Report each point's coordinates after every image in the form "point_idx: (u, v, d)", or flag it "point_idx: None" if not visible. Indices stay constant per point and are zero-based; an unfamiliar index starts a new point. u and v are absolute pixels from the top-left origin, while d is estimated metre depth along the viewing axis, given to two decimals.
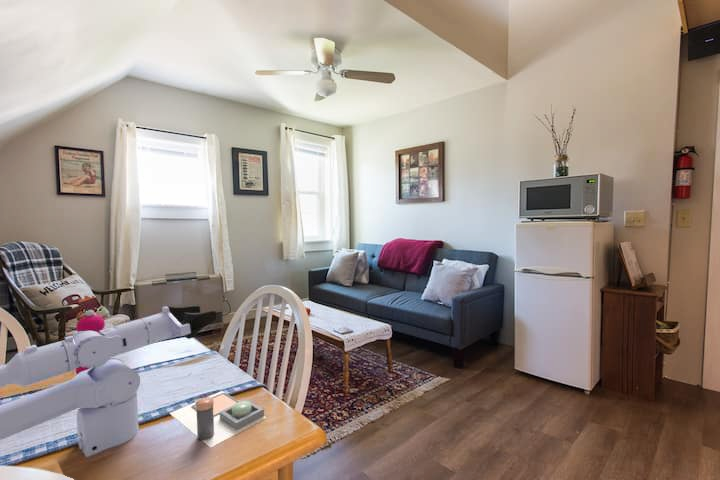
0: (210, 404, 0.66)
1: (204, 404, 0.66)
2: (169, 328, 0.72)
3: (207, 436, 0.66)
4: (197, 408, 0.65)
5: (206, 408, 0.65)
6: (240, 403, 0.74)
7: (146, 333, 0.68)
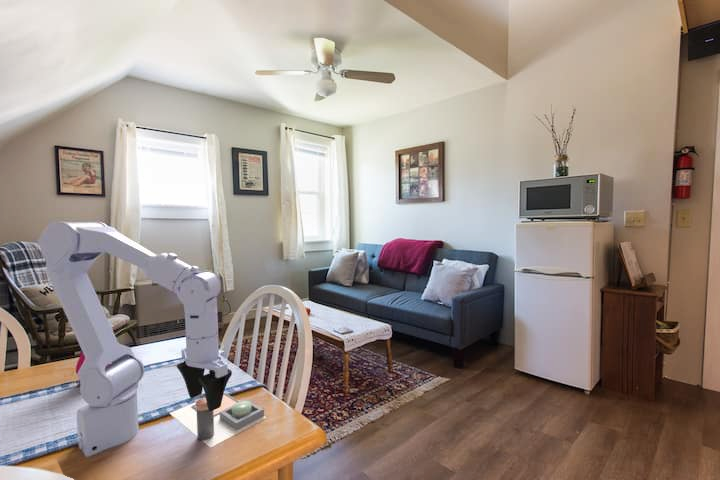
0: None
1: (204, 404, 0.66)
2: (210, 357, 0.64)
3: (207, 436, 0.66)
4: (197, 408, 0.65)
5: (206, 408, 0.65)
6: (240, 403, 0.74)
7: (197, 337, 0.63)
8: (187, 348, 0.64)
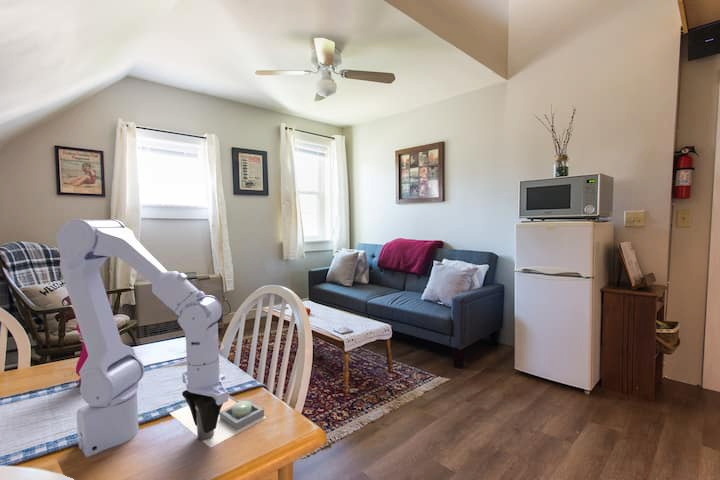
0: None
1: None
2: (210, 383, 0.65)
3: (207, 436, 0.66)
4: (197, 408, 0.65)
5: None
6: (240, 403, 0.74)
7: (198, 363, 0.63)
8: (188, 374, 0.64)
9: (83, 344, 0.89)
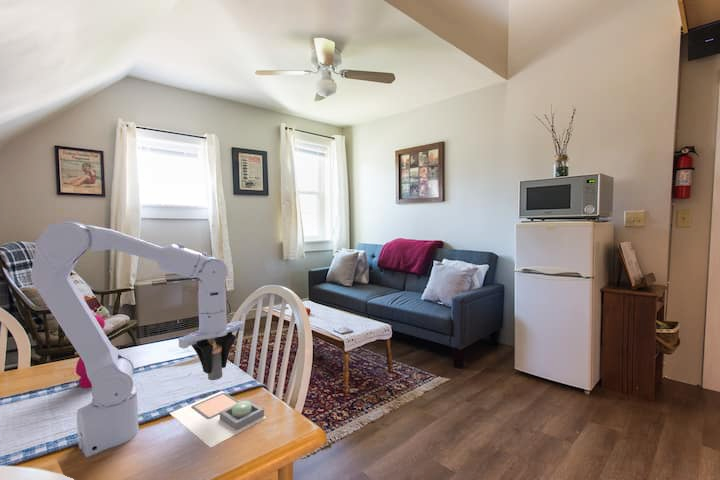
0: None
1: None
2: (201, 331, 0.74)
3: (208, 376, 0.76)
4: None
5: None
6: (240, 403, 0.74)
7: (217, 311, 0.74)
8: None
9: None
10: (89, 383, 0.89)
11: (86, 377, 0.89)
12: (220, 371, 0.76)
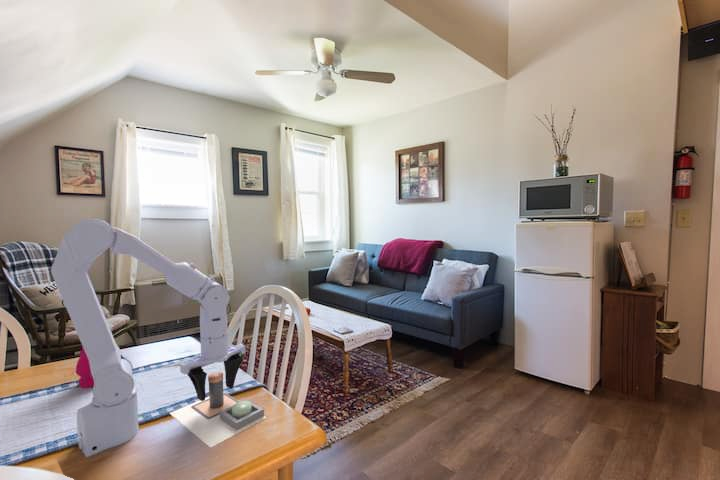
0: (209, 379, 0.76)
1: (209, 376, 0.77)
2: (202, 355, 0.75)
3: None
4: None
5: (208, 380, 0.77)
6: (240, 403, 0.74)
7: (219, 336, 0.75)
8: None
9: None
10: (89, 383, 0.89)
11: (86, 377, 0.89)
12: (221, 399, 0.78)
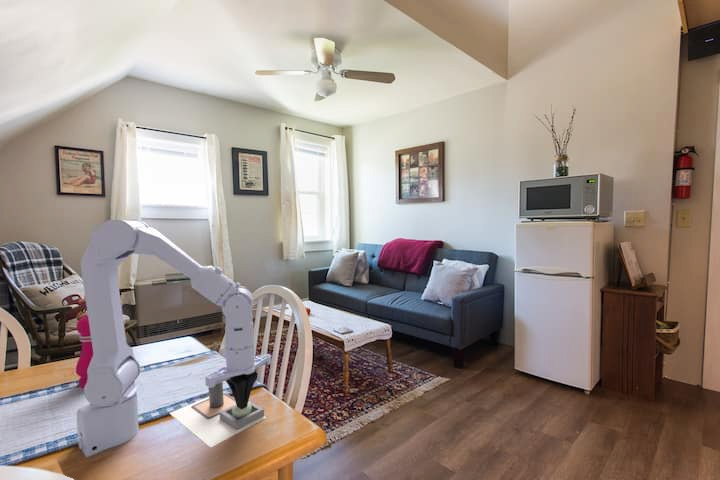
0: None
1: None
2: (228, 367, 0.70)
3: None
4: None
5: None
6: None
7: (240, 347, 0.70)
8: None
9: (83, 344, 0.89)
10: None
11: (86, 377, 0.89)
12: (221, 399, 0.78)
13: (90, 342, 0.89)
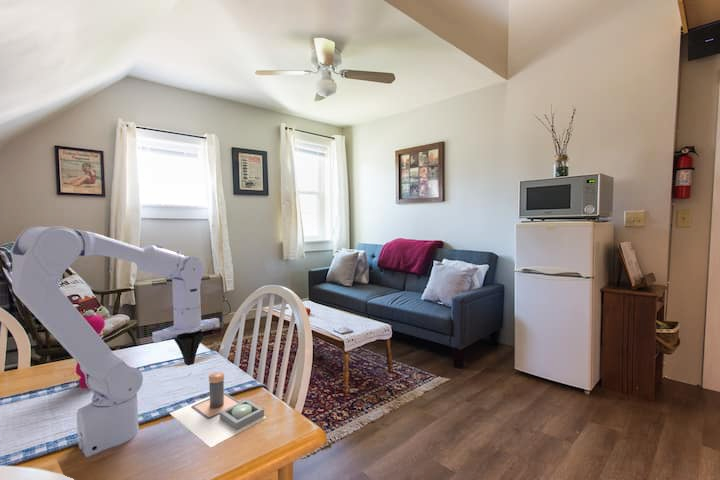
0: (210, 378, 0.76)
1: (210, 376, 0.77)
2: (175, 326, 0.77)
3: None
4: None
5: (209, 380, 0.77)
6: (240, 406, 0.74)
7: (196, 306, 0.78)
8: None
9: None
10: None
11: None
12: (221, 400, 0.77)
13: None
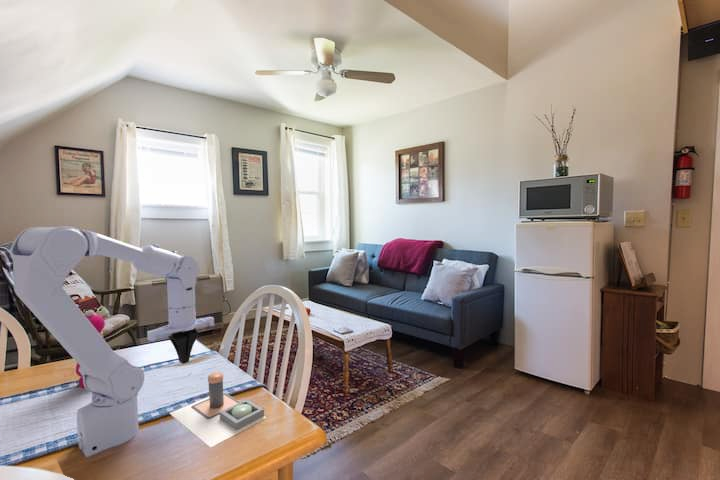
0: (208, 379, 0.76)
1: (209, 376, 0.77)
2: (169, 325, 0.78)
3: None
4: None
5: (208, 380, 0.77)
6: (240, 406, 0.74)
7: (191, 304, 0.79)
8: None
9: None
10: None
11: None
12: (220, 400, 0.77)
13: None
